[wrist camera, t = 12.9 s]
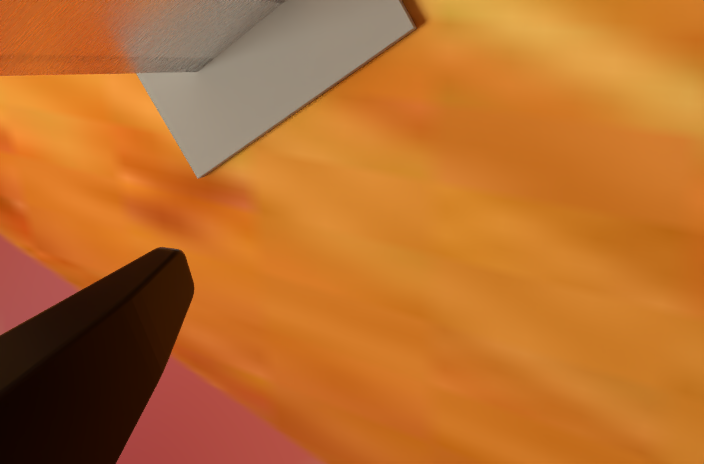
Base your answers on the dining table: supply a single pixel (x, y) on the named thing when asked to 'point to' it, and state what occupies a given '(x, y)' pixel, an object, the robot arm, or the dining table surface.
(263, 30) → the slate mat
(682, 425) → the dining table surface
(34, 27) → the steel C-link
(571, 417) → the dining table surface
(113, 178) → the dining table surface
